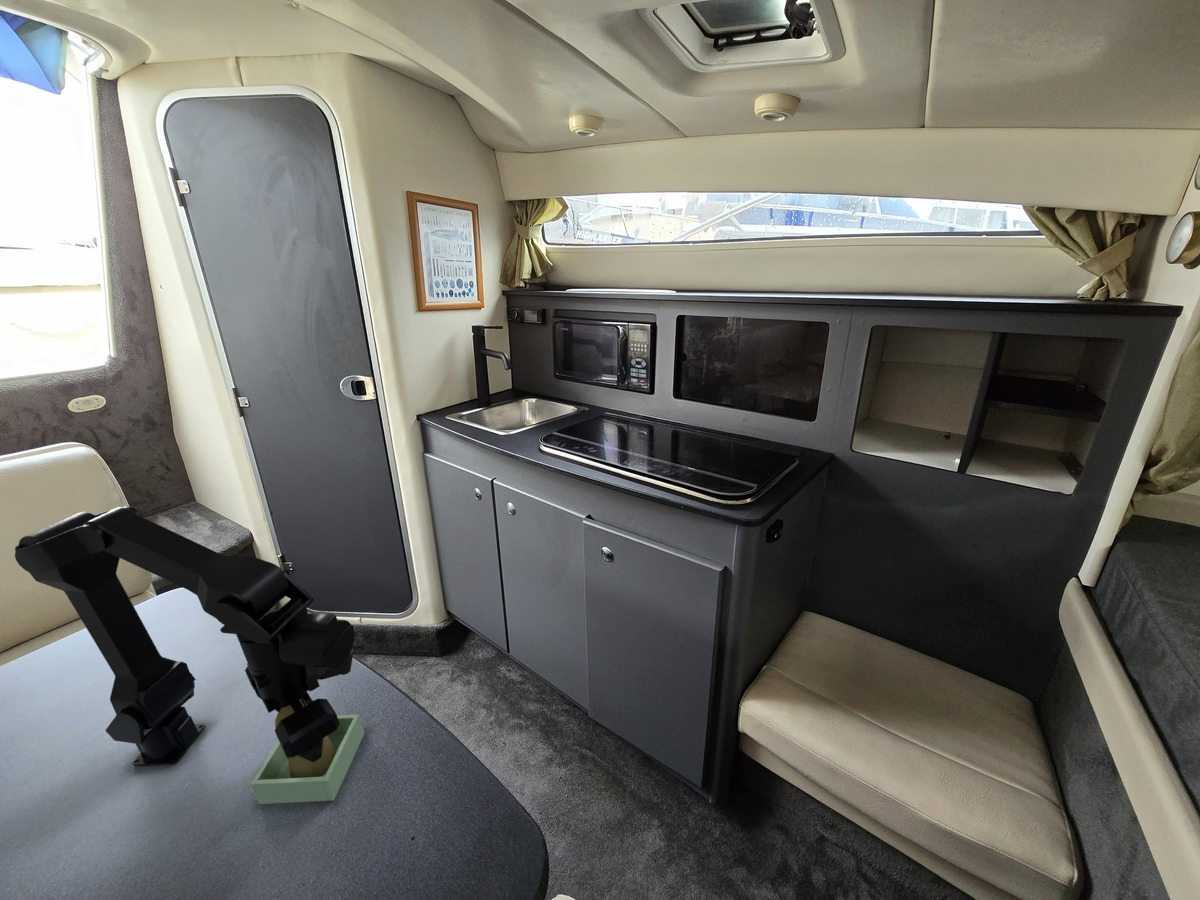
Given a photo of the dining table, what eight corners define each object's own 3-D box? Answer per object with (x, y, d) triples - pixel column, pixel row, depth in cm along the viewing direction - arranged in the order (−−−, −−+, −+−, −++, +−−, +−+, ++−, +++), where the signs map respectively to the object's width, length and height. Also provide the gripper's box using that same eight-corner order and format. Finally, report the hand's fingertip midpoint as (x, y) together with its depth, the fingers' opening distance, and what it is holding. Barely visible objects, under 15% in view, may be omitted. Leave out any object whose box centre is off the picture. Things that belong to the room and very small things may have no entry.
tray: (259, 804, 68) (250, 784, 66) (299, 736, 77) (292, 717, 75) (334, 800, 68) (326, 780, 66) (364, 733, 77) (359, 714, 76)
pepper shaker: (316, 787, 69) (295, 731, 65) (280, 779, 70) (257, 724, 66) (345, 747, 74) (328, 693, 70) (311, 740, 76) (292, 687, 71)
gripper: (366, 655, 64) (390, 740, 69) (315, 593, 76) (339, 670, 82) (268, 711, 56) (304, 800, 62) (229, 633, 68) (262, 714, 74)
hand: (305, 738), depth 70 cm, fingers open, 9 cm apart
